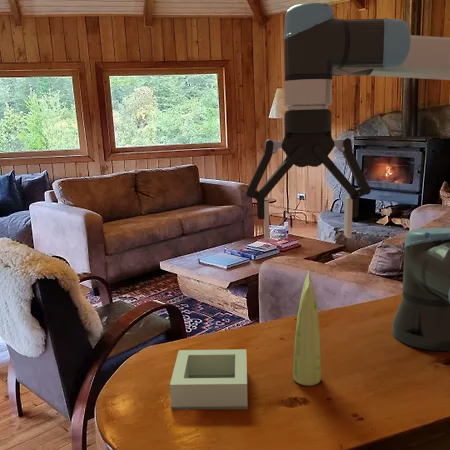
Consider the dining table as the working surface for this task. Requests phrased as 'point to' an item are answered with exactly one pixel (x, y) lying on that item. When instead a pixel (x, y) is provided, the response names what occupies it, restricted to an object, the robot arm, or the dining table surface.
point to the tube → (307, 338)
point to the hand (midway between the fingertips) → (307, 237)
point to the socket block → (209, 380)
